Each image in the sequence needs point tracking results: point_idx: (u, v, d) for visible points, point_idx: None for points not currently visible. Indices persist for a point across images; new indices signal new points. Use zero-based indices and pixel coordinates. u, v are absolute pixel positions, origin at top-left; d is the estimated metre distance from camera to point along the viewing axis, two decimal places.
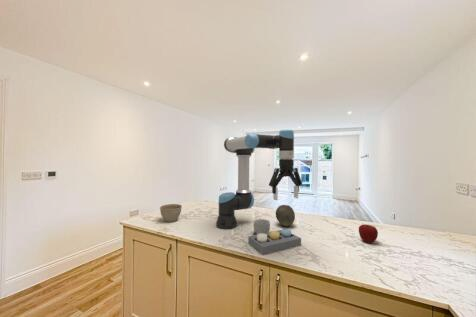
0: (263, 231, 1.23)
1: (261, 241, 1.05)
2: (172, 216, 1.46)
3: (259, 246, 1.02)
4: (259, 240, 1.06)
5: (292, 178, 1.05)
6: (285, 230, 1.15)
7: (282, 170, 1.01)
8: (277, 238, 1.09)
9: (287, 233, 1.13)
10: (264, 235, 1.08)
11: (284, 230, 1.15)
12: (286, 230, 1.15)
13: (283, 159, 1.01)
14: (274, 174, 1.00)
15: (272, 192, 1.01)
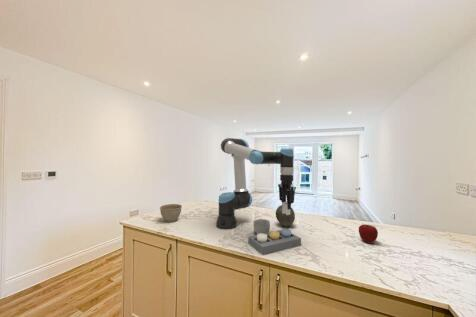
0: (263, 231, 1.23)
1: (261, 241, 1.05)
2: (172, 216, 1.46)
3: (259, 246, 1.02)
4: (259, 240, 1.06)
5: None
6: (285, 230, 1.15)
7: (281, 183, 1.18)
8: (277, 238, 1.09)
9: (287, 233, 1.13)
10: (264, 235, 1.08)
11: (284, 230, 1.15)
12: (286, 230, 1.15)
13: None
14: None
15: None
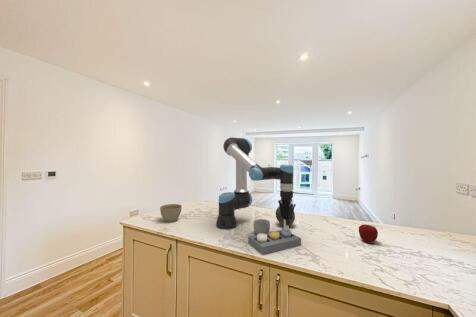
0: (263, 231, 1.23)
1: (261, 241, 1.05)
2: (172, 216, 1.46)
3: (259, 246, 1.02)
4: (259, 240, 1.06)
5: None
6: None
7: (281, 199, 1.18)
8: (277, 238, 1.09)
9: (287, 233, 1.13)
10: (264, 235, 1.08)
11: None
12: None
13: None
14: None
15: None
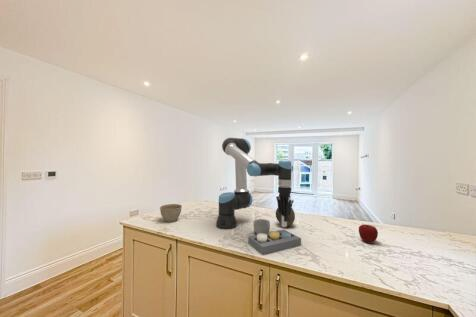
0: (263, 231, 1.23)
1: (261, 241, 1.05)
2: (172, 216, 1.46)
3: (259, 246, 1.02)
4: (259, 240, 1.06)
5: None
6: (285, 233, 1.15)
7: (279, 195, 1.17)
8: (277, 238, 1.09)
9: (287, 236, 1.13)
10: (264, 235, 1.08)
11: (284, 233, 1.15)
12: (286, 233, 1.15)
13: None
14: None
15: None
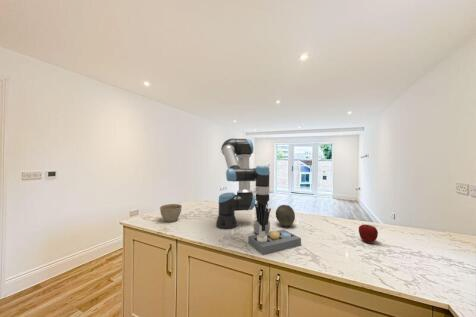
0: None
1: (261, 242, 1.05)
2: (172, 216, 1.46)
3: (259, 246, 1.02)
4: (259, 242, 1.06)
5: None
6: (285, 233, 1.15)
7: (257, 203, 1.10)
8: (277, 238, 1.09)
9: (287, 236, 1.13)
10: (264, 236, 1.08)
11: (284, 233, 1.15)
12: (286, 233, 1.15)
13: None
14: None
15: None
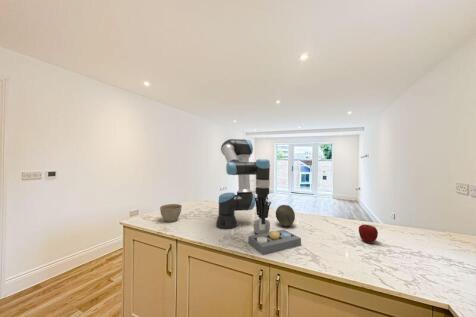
0: (263, 231, 1.23)
1: None
2: (172, 216, 1.46)
3: (259, 246, 1.02)
4: None
5: None
6: (285, 233, 1.15)
7: (257, 196, 1.10)
8: (277, 238, 1.09)
9: (287, 236, 1.13)
10: (264, 239, 1.08)
11: (284, 233, 1.15)
12: (286, 233, 1.15)
13: None
14: None
15: None
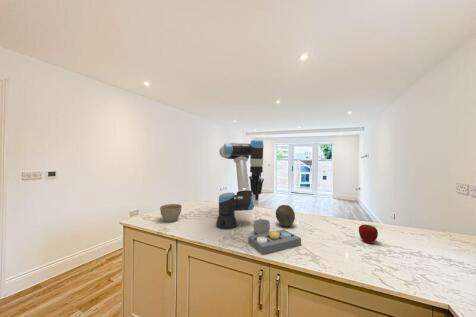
0: (263, 231, 1.23)
1: None
2: (172, 216, 1.46)
3: (259, 246, 1.02)
4: None
5: None
6: (285, 233, 1.15)
7: None
8: (277, 238, 1.09)
9: (287, 236, 1.13)
10: (264, 239, 1.08)
11: (284, 233, 1.15)
12: (286, 233, 1.15)
13: None
14: None
15: None
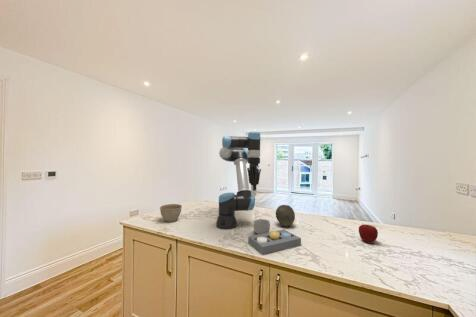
0: (263, 231, 1.23)
1: None
2: (172, 216, 1.46)
3: (259, 246, 1.02)
4: None
5: None
6: (285, 233, 1.15)
7: (249, 166, 1.22)
8: (277, 238, 1.09)
9: (287, 236, 1.13)
10: (264, 239, 1.08)
11: (284, 233, 1.15)
12: (286, 233, 1.15)
13: None
14: None
15: None
